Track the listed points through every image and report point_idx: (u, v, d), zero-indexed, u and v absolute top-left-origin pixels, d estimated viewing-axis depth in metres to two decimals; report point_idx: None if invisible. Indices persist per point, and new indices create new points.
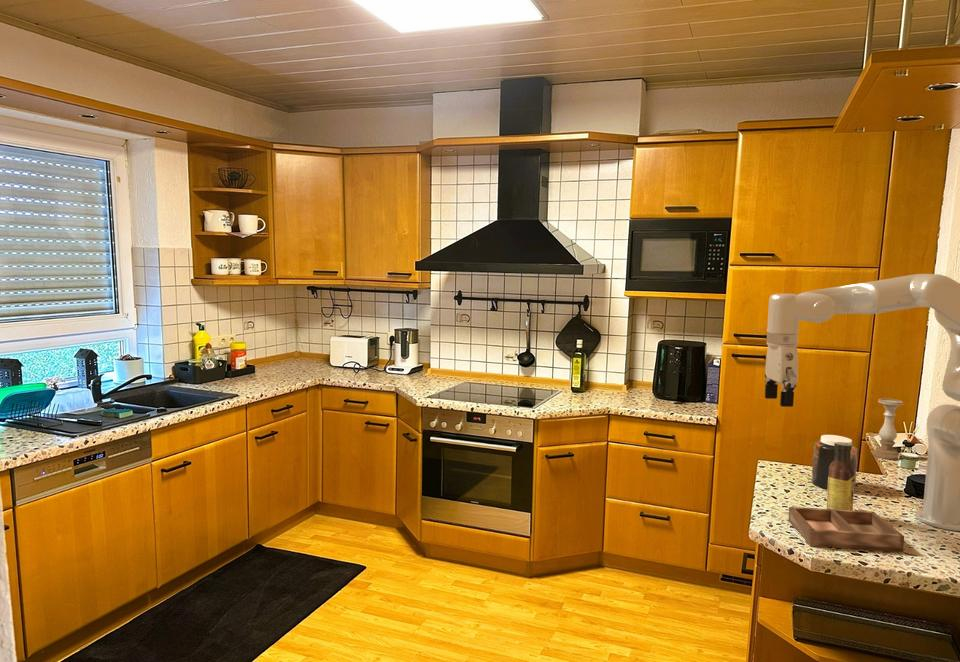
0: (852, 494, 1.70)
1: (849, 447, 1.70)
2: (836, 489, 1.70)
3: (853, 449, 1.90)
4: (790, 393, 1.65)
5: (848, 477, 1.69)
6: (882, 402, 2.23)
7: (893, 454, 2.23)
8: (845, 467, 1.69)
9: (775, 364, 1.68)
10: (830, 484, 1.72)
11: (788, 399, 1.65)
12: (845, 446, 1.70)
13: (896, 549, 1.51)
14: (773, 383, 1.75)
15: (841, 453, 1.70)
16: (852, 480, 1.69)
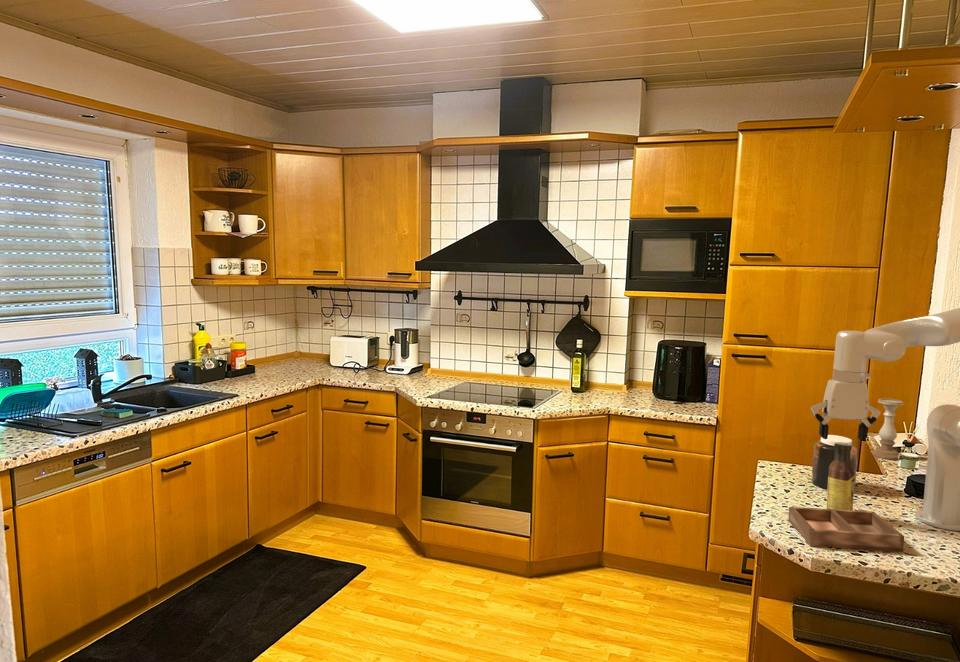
0: (852, 494, 1.70)
1: (849, 447, 1.70)
2: (836, 489, 1.70)
3: (853, 449, 1.90)
4: None
5: (848, 477, 1.69)
6: (882, 402, 2.23)
7: (893, 454, 2.23)
8: (845, 467, 1.69)
9: (859, 402, 1.67)
10: (830, 484, 1.72)
11: None
12: (845, 446, 1.70)
13: (896, 549, 1.51)
14: None
15: (841, 453, 1.70)
16: (852, 480, 1.69)
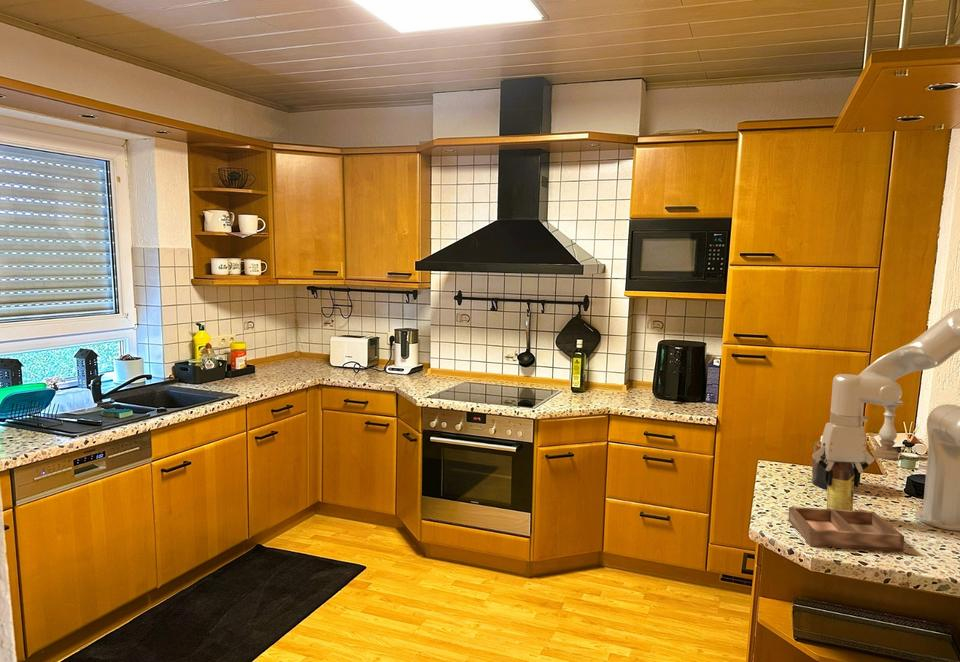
0: (852, 494, 1.70)
1: None
2: (836, 489, 1.70)
3: None
4: None
5: (847, 477, 1.69)
6: None
7: (893, 454, 2.23)
8: (845, 467, 1.69)
9: (857, 446, 1.68)
10: None
11: None
12: None
13: (896, 549, 1.51)
14: None
15: None
16: (852, 480, 1.69)
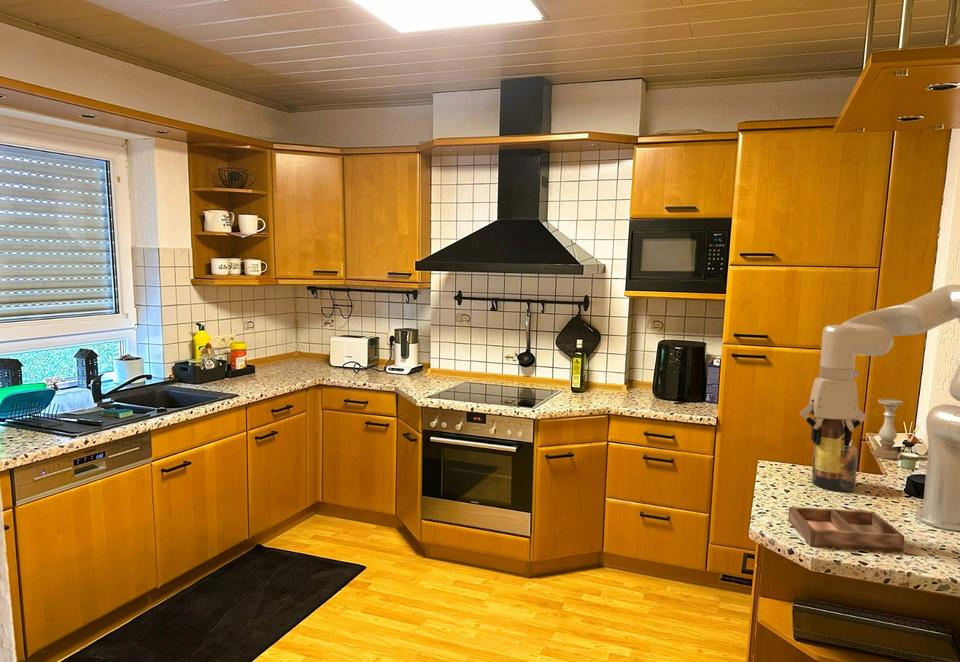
0: (842, 454, 1.58)
1: None
2: (824, 448, 1.58)
3: (853, 449, 1.90)
4: None
5: (837, 435, 1.57)
6: (882, 402, 2.23)
7: (893, 454, 2.23)
8: (835, 424, 1.57)
9: (847, 401, 1.56)
10: None
11: None
12: None
13: (896, 549, 1.51)
14: None
15: None
16: (842, 438, 1.57)
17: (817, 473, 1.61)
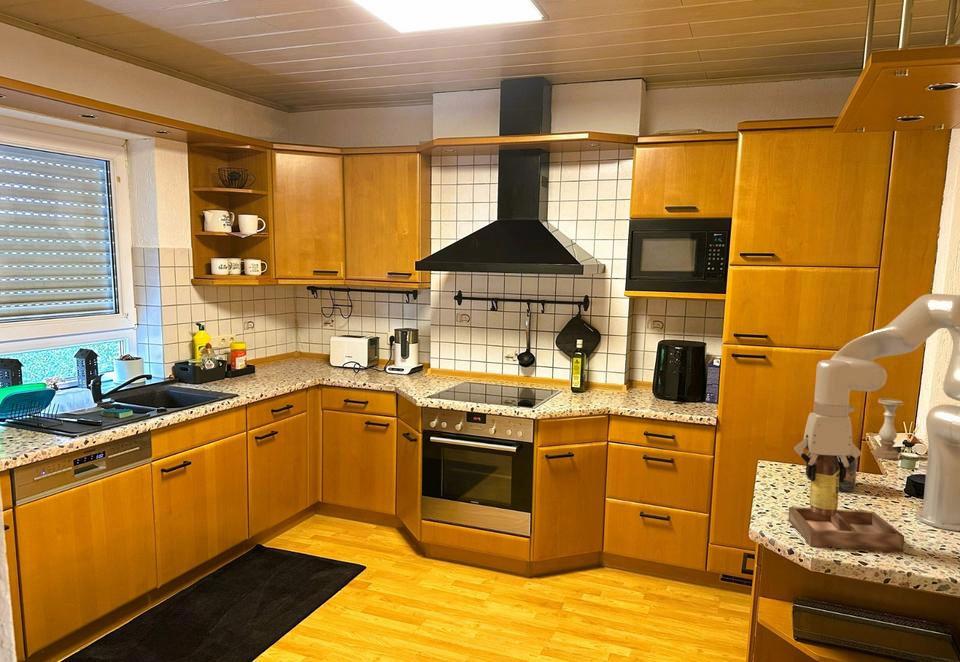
0: (837, 490, 1.56)
1: None
2: (819, 485, 1.57)
3: None
4: None
5: (832, 472, 1.56)
6: (882, 402, 2.23)
7: (893, 454, 2.23)
8: (829, 461, 1.56)
9: (842, 438, 1.55)
10: None
11: None
12: None
13: (896, 549, 1.51)
14: None
15: None
16: (837, 475, 1.56)
17: (812, 509, 1.59)
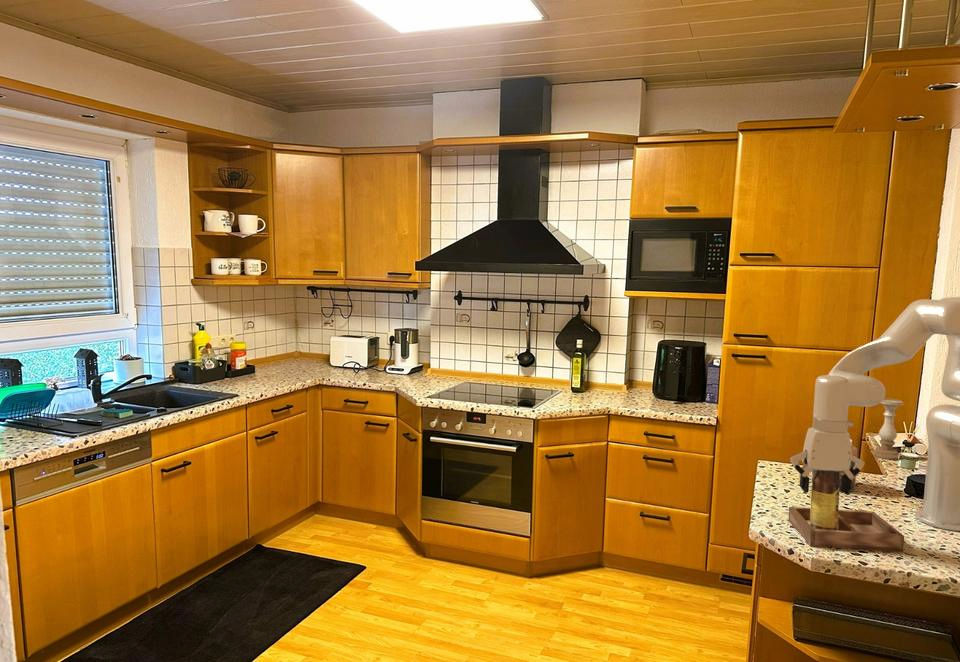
0: (837, 508, 1.57)
1: None
2: (819, 503, 1.57)
3: (853, 449, 1.90)
4: None
5: (832, 490, 1.56)
6: (882, 402, 2.23)
7: (893, 454, 2.23)
8: (829, 479, 1.56)
9: (841, 453, 1.55)
10: (813, 497, 1.59)
11: None
12: None
13: (896, 549, 1.51)
14: None
15: None
16: (837, 493, 1.56)
17: (812, 527, 1.59)
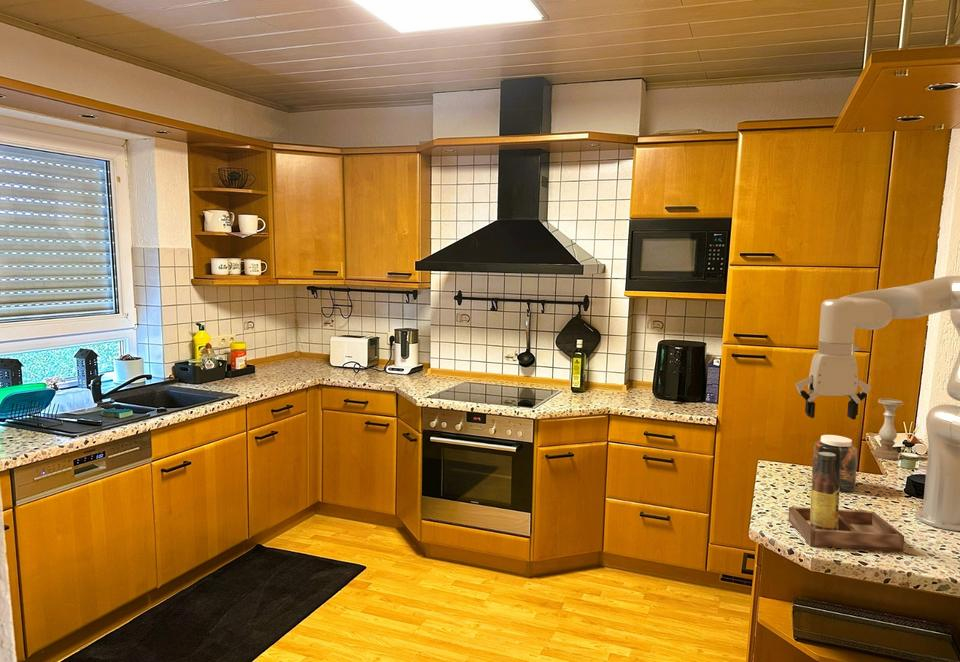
0: (837, 508, 1.57)
1: (833, 458, 1.57)
2: (819, 503, 1.57)
3: (853, 449, 1.90)
4: None
5: (832, 491, 1.56)
6: (882, 402, 2.23)
7: (893, 454, 2.23)
8: (829, 479, 1.56)
9: (847, 377, 1.53)
10: (813, 497, 1.59)
11: None
12: (829, 456, 1.57)
13: (896, 549, 1.51)
14: None
15: (825, 464, 1.57)
16: (837, 493, 1.56)
17: (812, 527, 1.59)
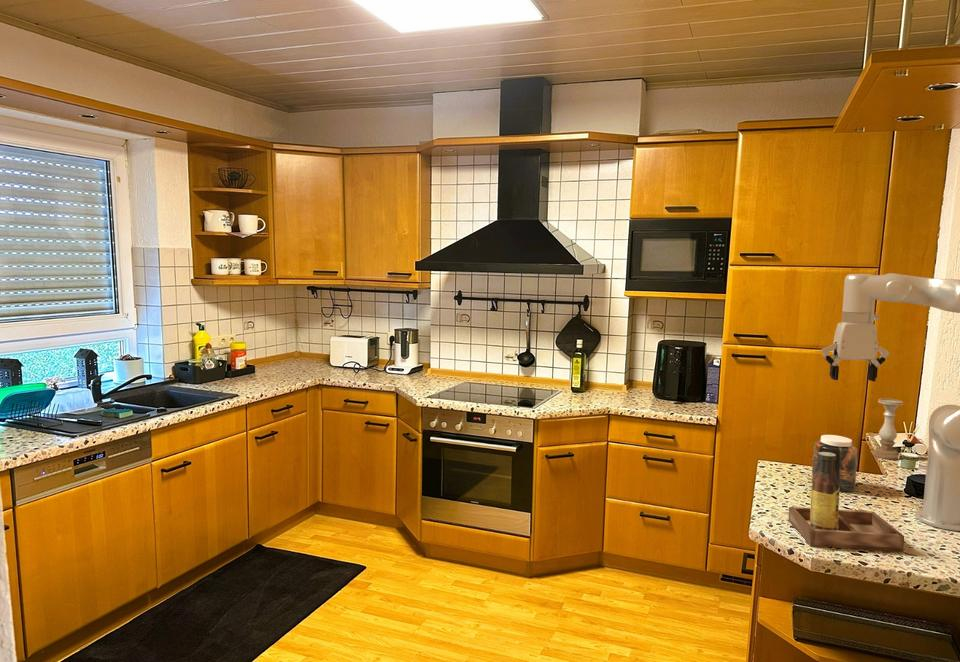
0: (837, 508, 1.57)
1: (834, 458, 1.57)
2: (819, 503, 1.57)
3: (853, 449, 1.90)
4: None
5: (832, 491, 1.56)
6: (882, 402, 2.23)
7: (893, 454, 2.23)
8: (829, 479, 1.56)
9: (868, 343, 1.72)
10: (813, 497, 1.59)
11: None
12: (829, 457, 1.57)
13: (896, 549, 1.51)
14: None
15: (825, 464, 1.57)
16: (837, 493, 1.56)
17: (812, 527, 1.59)
